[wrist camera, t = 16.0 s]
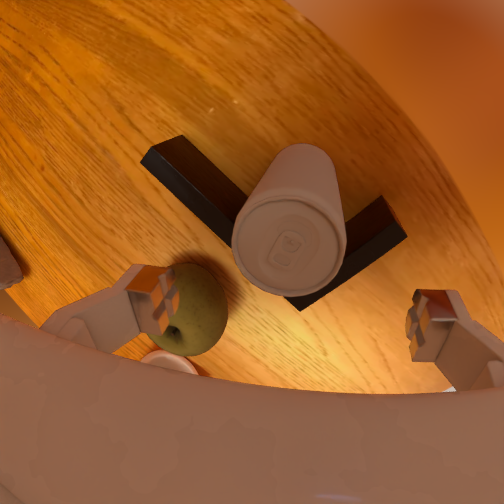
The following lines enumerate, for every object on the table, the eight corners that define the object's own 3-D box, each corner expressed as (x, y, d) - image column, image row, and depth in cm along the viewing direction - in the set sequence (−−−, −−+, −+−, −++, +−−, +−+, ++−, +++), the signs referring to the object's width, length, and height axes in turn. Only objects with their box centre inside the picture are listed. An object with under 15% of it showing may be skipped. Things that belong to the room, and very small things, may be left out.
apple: (189, 322, 32) (163, 371, 26) (148, 261, 30) (111, 305, 23) (251, 307, 30) (233, 362, 24) (211, 237, 27) (179, 283, 21)
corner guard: (250, 58, 19) (232, 49, 15) (392, 208, 22) (408, 237, 18) (170, 147, 23) (139, 162, 19) (304, 275, 27) (299, 312, 22)
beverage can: (346, 161, 21) (371, 230, 11) (317, 213, 24) (310, 315, 14) (287, 130, 21) (255, 170, 11) (261, 186, 24) (211, 269, 13)
